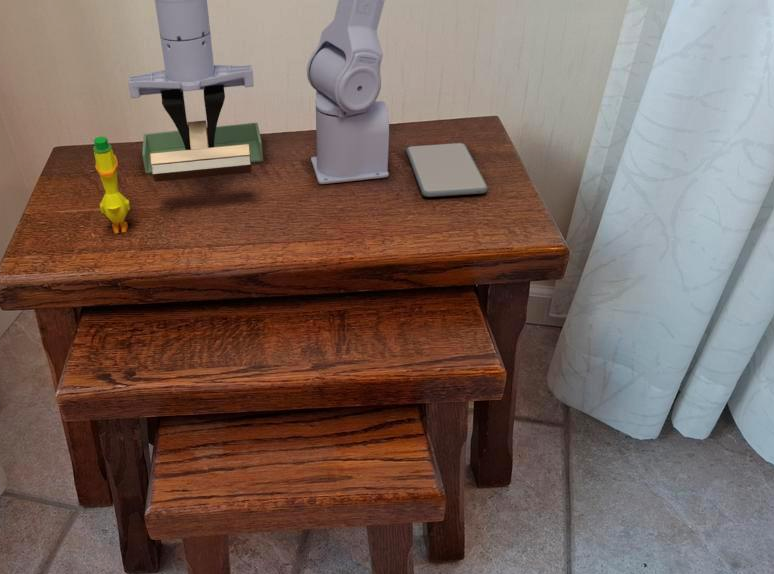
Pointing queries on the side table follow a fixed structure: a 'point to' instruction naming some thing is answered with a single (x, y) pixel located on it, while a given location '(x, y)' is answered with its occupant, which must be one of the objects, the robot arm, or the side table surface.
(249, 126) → the dustpan
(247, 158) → the brush
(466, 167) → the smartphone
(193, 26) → the robot arm
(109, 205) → the toy figure
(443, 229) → the side table surface
